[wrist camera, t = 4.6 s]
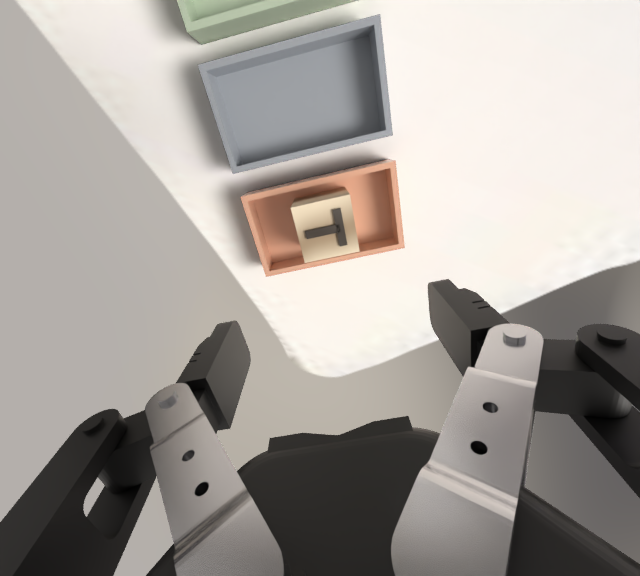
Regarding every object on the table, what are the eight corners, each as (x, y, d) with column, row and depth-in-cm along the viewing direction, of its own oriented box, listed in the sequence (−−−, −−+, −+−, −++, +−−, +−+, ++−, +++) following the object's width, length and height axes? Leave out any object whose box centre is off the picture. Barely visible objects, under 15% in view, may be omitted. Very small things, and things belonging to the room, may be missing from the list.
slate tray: (210, 73, 26) (197, 64, 23) (373, 28, 25) (380, 14, 22) (240, 171, 29) (232, 173, 26) (385, 136, 28) (392, 135, 25)
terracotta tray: (247, 192, 30) (240, 196, 27) (388, 159, 29) (395, 160, 26) (270, 266, 33) (266, 276, 31) (397, 239, 32) (404, 247, 29)
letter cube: (294, 198, 30) (290, 208, 25) (344, 186, 29) (350, 194, 24) (306, 246, 32) (304, 263, 27) (353, 236, 31) (360, 252, 27)
